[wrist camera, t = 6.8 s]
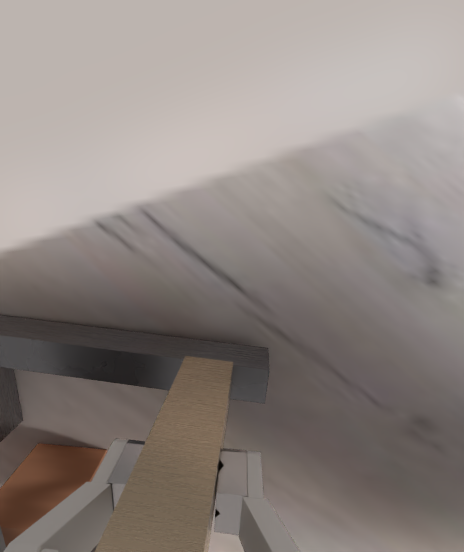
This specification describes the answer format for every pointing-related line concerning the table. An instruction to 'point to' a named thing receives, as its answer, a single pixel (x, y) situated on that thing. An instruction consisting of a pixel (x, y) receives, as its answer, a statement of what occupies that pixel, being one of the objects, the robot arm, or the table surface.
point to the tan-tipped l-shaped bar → (167, 428)
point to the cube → (44, 484)
